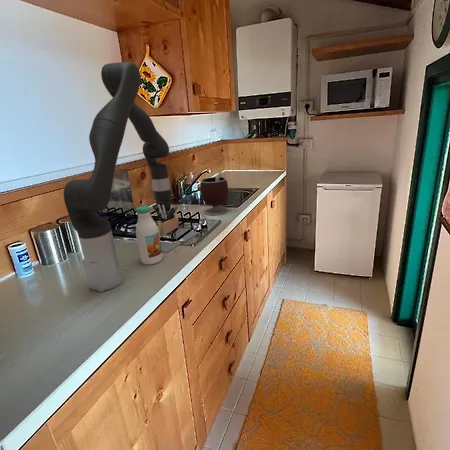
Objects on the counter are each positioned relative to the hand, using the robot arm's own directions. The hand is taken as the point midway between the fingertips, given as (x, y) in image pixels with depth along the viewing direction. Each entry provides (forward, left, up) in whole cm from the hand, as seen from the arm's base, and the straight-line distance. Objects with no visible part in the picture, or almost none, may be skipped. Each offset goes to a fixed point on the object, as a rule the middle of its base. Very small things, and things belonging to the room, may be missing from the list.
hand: (167, 225), depth 136 cm
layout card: (-8, -8, -2) cm, 12 cm away
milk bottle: (-26, -15, -2) cm, 30 cm away
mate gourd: (+30, -7, -2) cm, 31 cm away
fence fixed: (-13, -3, -2) cm, 14 cm away
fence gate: (-2, -3, -1) cm, 4 cm away
